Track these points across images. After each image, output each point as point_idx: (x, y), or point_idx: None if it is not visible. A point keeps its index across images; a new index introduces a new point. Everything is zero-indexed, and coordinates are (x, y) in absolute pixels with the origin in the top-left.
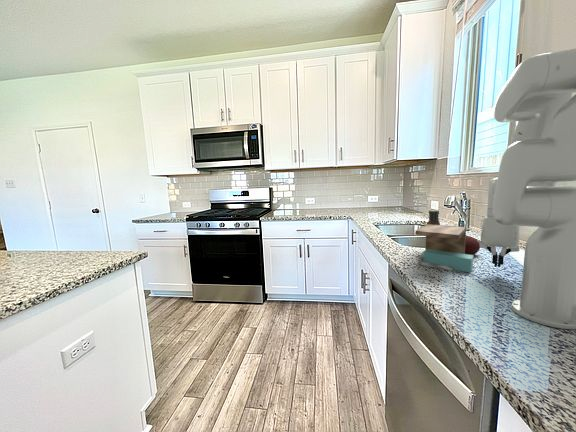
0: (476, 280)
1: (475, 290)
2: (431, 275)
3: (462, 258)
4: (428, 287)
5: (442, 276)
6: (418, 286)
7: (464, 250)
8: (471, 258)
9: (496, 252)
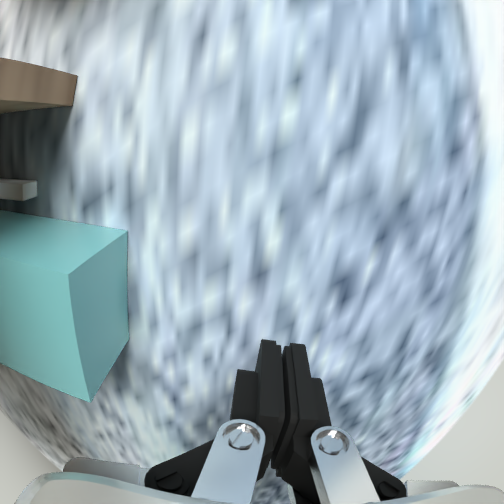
0: (173, 432)
1: None
2: (39, 412)
3: (44, 378)
4: None
5: (64, 416)
6: None
7: (2, 83)
8: (85, 389)
9: (259, 469)
